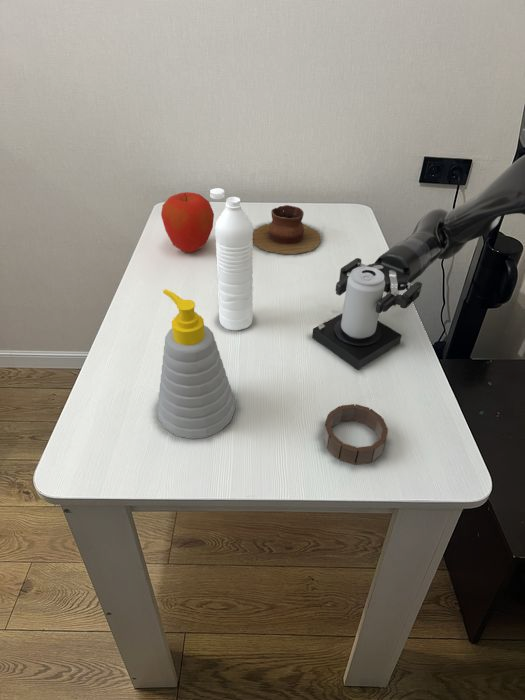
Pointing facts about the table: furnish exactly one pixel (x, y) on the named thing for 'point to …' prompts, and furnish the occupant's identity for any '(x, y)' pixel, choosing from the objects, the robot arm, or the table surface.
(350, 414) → the can holder
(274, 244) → the ceramic pot
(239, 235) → the water bottle
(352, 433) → the table surface
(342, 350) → the hot plate
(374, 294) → the beverage can
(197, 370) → the soap bottle
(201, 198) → the apple
